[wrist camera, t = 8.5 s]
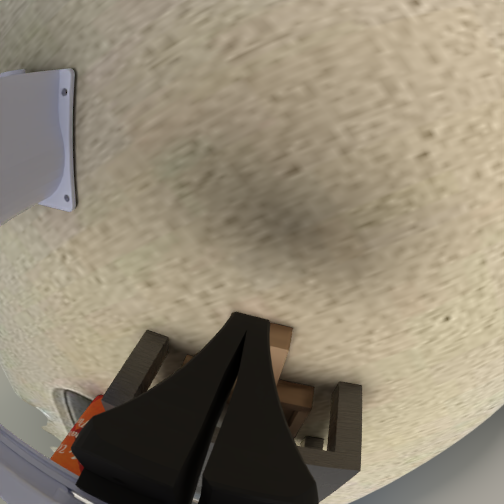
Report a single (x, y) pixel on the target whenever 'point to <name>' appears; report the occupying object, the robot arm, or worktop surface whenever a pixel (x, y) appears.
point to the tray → (282, 382)
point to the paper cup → (64, 452)
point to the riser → (140, 378)
